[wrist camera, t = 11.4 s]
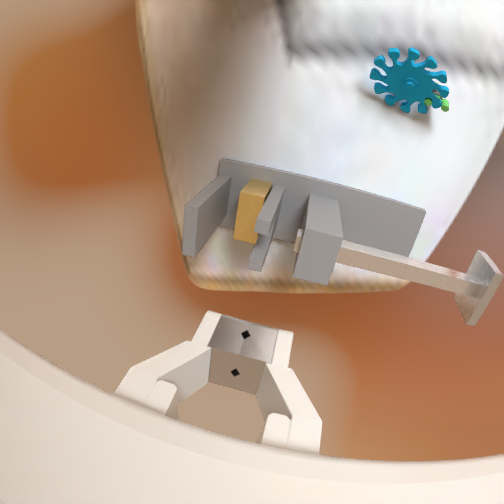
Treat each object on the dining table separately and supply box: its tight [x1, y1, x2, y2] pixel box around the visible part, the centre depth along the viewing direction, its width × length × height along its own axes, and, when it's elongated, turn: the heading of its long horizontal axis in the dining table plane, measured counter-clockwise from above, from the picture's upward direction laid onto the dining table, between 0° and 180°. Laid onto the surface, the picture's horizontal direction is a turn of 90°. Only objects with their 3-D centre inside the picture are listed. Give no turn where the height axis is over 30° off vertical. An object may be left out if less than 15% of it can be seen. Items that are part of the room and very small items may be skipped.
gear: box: [370, 47, 449, 113], centre depth 29 cm, size 11×6×10 cm
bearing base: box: [182, 158, 426, 285], centre depth 37 cm, size 10×30×14 cm, turn 80°
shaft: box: [293, 229, 504, 326], centre depth 34 cm, size 8×28×6 cm, turn 80°
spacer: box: [233, 178, 273, 244], centre depth 41 cm, size 6×3×6 cm, turn 170°
